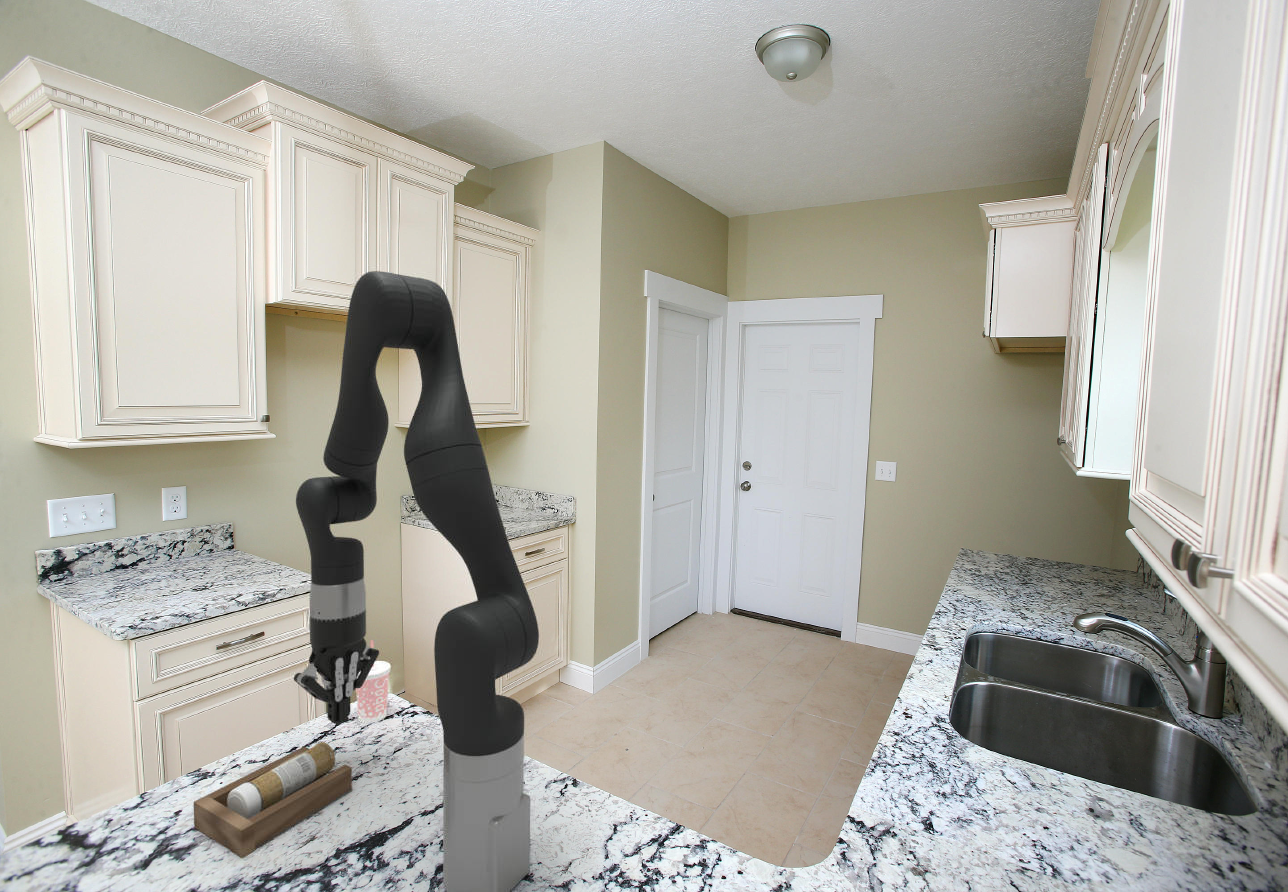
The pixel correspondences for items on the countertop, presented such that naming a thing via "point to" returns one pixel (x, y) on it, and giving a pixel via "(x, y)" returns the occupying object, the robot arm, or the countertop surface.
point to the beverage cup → (374, 693)
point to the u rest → (267, 809)
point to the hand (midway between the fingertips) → (339, 721)
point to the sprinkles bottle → (281, 781)
